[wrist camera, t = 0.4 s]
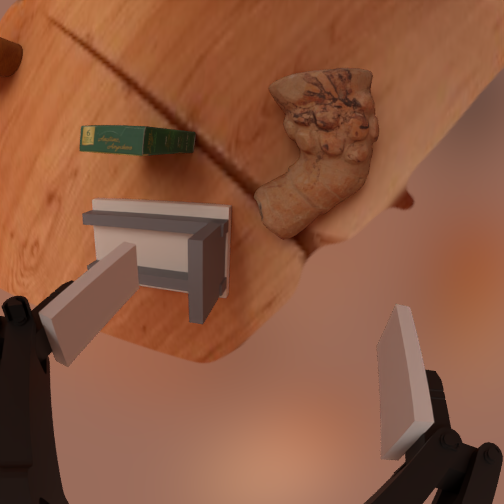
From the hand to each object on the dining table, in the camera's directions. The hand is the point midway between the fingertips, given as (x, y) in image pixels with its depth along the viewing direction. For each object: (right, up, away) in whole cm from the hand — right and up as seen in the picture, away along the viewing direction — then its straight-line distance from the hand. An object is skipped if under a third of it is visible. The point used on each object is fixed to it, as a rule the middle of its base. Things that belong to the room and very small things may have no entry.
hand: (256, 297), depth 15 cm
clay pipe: (+7, +15, +21) cm, 27 cm away
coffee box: (-11, +16, +24) cm, 31 cm away
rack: (-13, +3, +28) cm, 31 cm away
